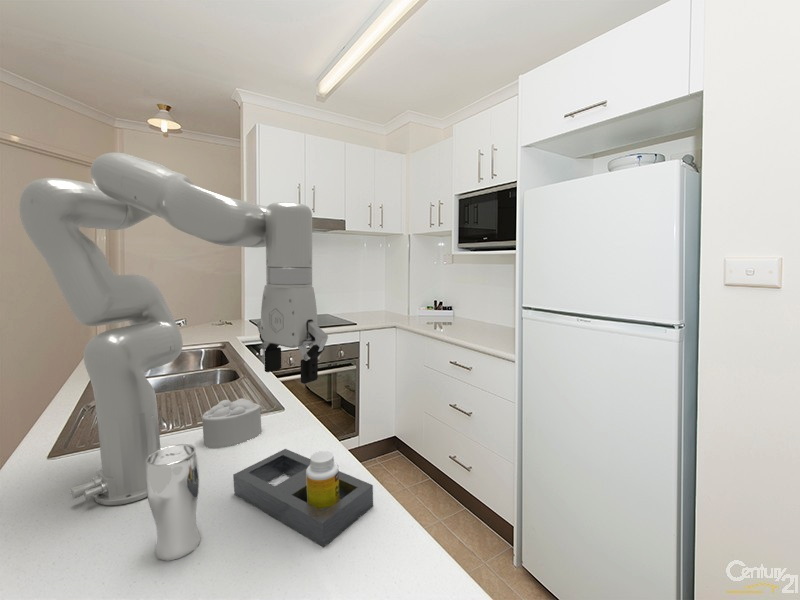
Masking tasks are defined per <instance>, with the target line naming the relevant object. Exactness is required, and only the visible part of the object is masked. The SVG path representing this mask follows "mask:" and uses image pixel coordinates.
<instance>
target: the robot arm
mask: <svg viewBox="0 0 800 600" xmlns="http://www.w3.org/2000/svg"><path fill="white" fill-rule="evenodd" d="M90 165H91V166H90V171H89V174H90V176H91V177H90V178H91V181H92V183H89V182H85V181H80V180H75V179H68V178H60V177H59V178H58V177H45V178H44V177H43V178H39V179H35V180H33V181H31V182H30V183H28V184H26V186H25V187H24V189H23V190H22V193H21V195H20V197H19V209H18V210H19V217H20V221H21V224H22V226H23V229H24V231H25V234H26V235H27V237H28V238H29V239H30V241H31V243H32V244H33V245H34V247H35V248H36V250H37V251H38V253H40V255H41V256H42V258H43V259H44V261H45V262H46V264H47V265H48V267H49V269H50V271H51V273H52V274H51V275H52V276H53V278H54V279H55V282H56V284H57V286H58V288H59V290H60V292H61V294H62V296H63V298H64V301H65V302H66V304H67V306H68V308H69V310H70V312H71V313H72V315H73V317H74V318H75V320H76V321H77V322H78V323H80V324H81V325H84V326H88V327H100V326H101V327H102V326H107V325H114V324H119V323H125V322H129V325H126V326H121V327H116V328H111V329H108V330H105V331H102V332H100V333H98V334H96V335H95V336H94V337H93V336H92V338H90V340H89V341H88V342H87V343H86V345H85V347H84V349H83V362H84V366H85V369H86V372H87V375H88V378H89V380H90V384H91V386H92V391H93V396H94V397H93V398H94V403H95V411H96V412H95V413H96V419H97V420H96V421H97V429H98V430H97V431H98V440H99V448H100V449H99V451H100V460H101V469H100V470H98V471H96V477H94V478H92V479H91V481H88V482H85V483H82V484H79V485H77V486H74V487H71V488H70V496H71V499H73V500H74V499H77V498H80V497H82V496H84V497H85V499H86V500H88V499H90V498H92V497H93V498H94V500H95V502H96V503H98V504H100V505H105V506H119V505H125V504H131V503H134V502H137V501H139V500H140V501H141V500H143V499H145V498H148V497H147V490H146V458H147V457H148V456H149V455H150V454H152V453H153V452H155V451H157V450H159V449H162V448H161V439H160V438H161V437H160V427H159V425H160V424H159V414H158V413H159V412H158V403H157V395H156V391H155V388H154V387H153V385H152V384H151V382H150V381H149V380H148V379H147V378H146V376H145V373H146V372H149V371H151V370H154V369H156V368H159V367H163V366H165V365H168V364H170V363H172V362H174V361H175V360H177V358H178V357H179V356H180V355H181V353H182V350H183V337H182V333H181V331H180V329H179V326H178V324H177V321H176V320H175V318H174V316H173V314H172V313H171V310H170V308H169V305H168V304H167V302H166V300H165V298H164V296H163V294H162V291H161V290H160V288H159V287H158V286H157V285H156V284H155V283H154V281H152V280H151V279H149V278H148V277H146V276H143V275H139V274H117V273H115V271H114V270H113V268H112V267H111V266H110V264H109V262H108V261H107V258H106V255H105V253H104V252H103V251H102V249H101V248H100V247H99V246H98V244H96V243H95V242H94V241H93V240H92V239H91V238H90V237H88V236H87V235H86V234H84V233H83V232H82V231H81V230H80V228H83V229H85V228H86V229H97V230H109V231H110V230H111V231H120V230H125V229H128V228H131V227H133V226H135V225H137V224H139V223H141V222H142V221H144V220H146V219H148V218H150V217H152V216H156V217H158V218H162V219H163V220H165V221H166V223H168V224H169V225H170V226H171V227H173V228H174V229H176V230H179V231H181V232H182V233H185V234H188V235H189V236H192V237H196V238H198V239H200V240H204V241H206V242H209V243H212V244H215V245H219V246H222V247H240V248H241V247H243V248H254V249H255V248H256V249H257V248H265V266H266V267H265V269H266V271H265V275H266V276H265V277H266V281H265V282H266V283H265V284H266V285H264V289H263V291H262V292H263V293H262V299H261V307H260V308H261V310H260V321H259V322H257V323H256V327H257V329H258V330H257V331H258V333H259V340H260V341H261V343H262V344H261V348H262V350H264V352H263V353H264V355H263V356H264V359H263V360H264V372H265V373H271V372H275V371H278V370H280V369H282V347H284V348H289V349H295V348H297V349H298V350H299V352H300V354H301V356H302V358H303V359H301V360H300V382H301V384H304V385H306V384H308V383H312V382H314V381H317V380H318V378H319V376H318V374H319V372H318V370H319V369H318V366H319V365H318V364H319V363H318V360H319V359H318V358H320V357H321V354H322V353H323V352H324V351H325V346H326V343H327V342H328V339H329V336H328V334H327V333H326V331H324V330H323V329H322V328H321V327H320V326H318V311H317V300H316V294H315V293H316V292H315V289H314V286H313V214H312V210H311V208H310V207H308V206H307V205H305V204H302V203H295V202H273V203H270V204H269V205H267V206H266V205H261V204H256V203H253V202H250V201H249V202H248V201H246V200H245V201H244V200H242V199H241V200H240V199H239V198H232V197H229V196H225V195H223V194H219V193H216V192H213V191H210V190H208V189H205V188H204V187H200V186H197V185H195V184H194V182H193V181H192V179H191V178H190V177H188V176H187V175H185V174H183V173H181V172H177V171H174V170H171V169H169V168H168V167H167V166H164V165H162V164H161V163H159V162H155V161H151V160H148V159H145V158H141V157H138V156H135V155H132V154H128V153H124V152H115V151H114V152H112V151H111V152H108V153H107V152H106V153H104V154H103V153H102V154H101V155H99V156H97V157H96V158H95V159H94V160H93V161H92V164H90ZM280 346H281V347H280ZM307 347H309V350H308V348H307Z"/></svg>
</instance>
